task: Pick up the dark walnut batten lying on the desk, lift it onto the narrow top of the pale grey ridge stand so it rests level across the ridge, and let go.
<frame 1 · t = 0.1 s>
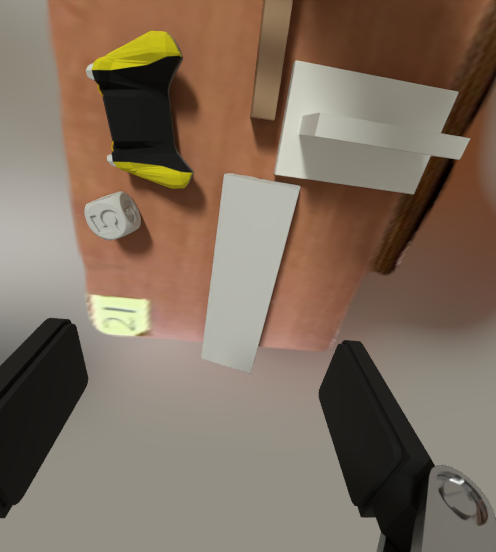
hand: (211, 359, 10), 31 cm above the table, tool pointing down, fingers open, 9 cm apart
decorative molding: (242, 280, 45), on the table
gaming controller: (153, 120, 33), on the table
ridge stand: (357, 135, 34), on the table
die: (121, 210, 38), on the table
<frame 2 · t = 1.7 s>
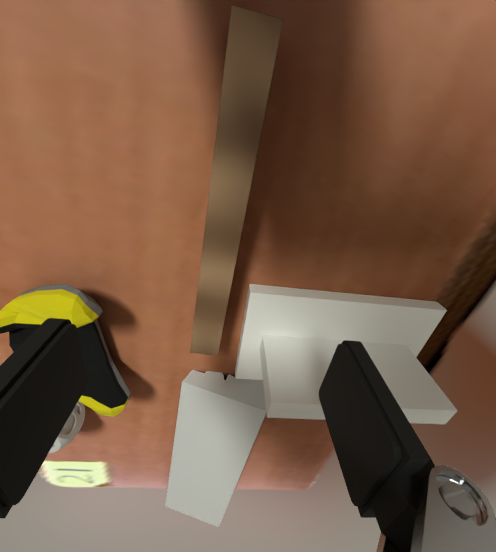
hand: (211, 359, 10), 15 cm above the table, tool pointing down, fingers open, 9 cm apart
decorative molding: (209, 442, 41), on the table
walnut batten: (224, 219, 22), on the table
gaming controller: (84, 330, 28), on the table
ridge stand: (329, 336, 29), on the table
die: (63, 399, 33), on the table
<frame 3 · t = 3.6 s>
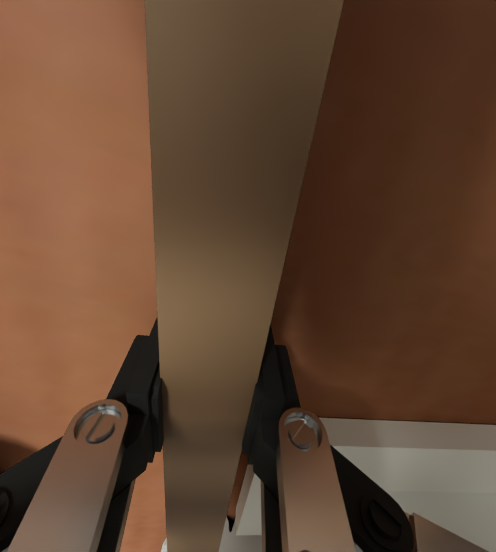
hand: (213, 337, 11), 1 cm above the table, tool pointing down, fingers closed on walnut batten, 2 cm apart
walnut batten: (214, 325, 11), on the table, touching gripper
ridge stand: (386, 472, 18), on the table
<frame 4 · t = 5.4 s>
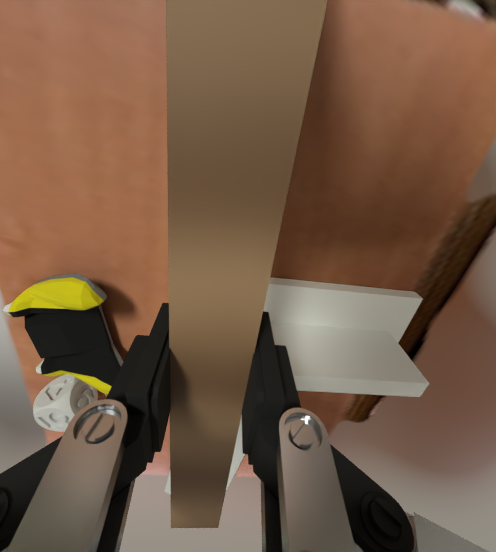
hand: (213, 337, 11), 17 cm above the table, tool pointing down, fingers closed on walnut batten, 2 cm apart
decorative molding: (213, 429, 44), on the table
walnut batten: (216, 312, 12), point 15 cm above the table, touching gripper
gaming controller: (89, 318, 31), on the table
ridge stand: (320, 324, 33), on the table
die: (78, 384, 36), on the table
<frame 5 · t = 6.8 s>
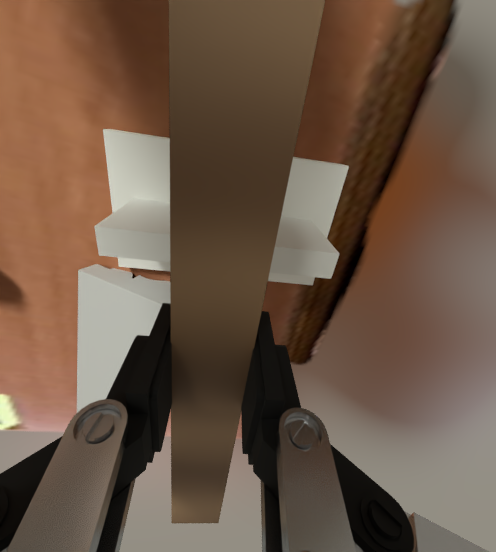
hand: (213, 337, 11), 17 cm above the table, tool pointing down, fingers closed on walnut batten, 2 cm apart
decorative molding: (127, 373, 37), on the table
walnut batten: (216, 309, 12), point 15 cm above the table, touching gripper
ridge stand: (225, 215, 25), on the table
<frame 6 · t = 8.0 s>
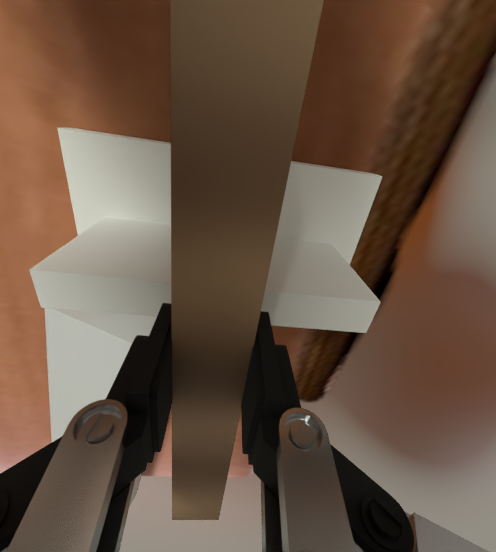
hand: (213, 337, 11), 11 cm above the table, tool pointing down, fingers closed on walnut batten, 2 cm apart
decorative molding: (111, 413, 32), on the table
walnut batten: (216, 307, 12), point 9 cm above the table, touching gripper, ridge stand
ridge stand: (223, 236, 20), on the table
when the fingers open (11 cm above the table, at t = 8.7 s): walnut batten stays where it is, resting on ridge stand.
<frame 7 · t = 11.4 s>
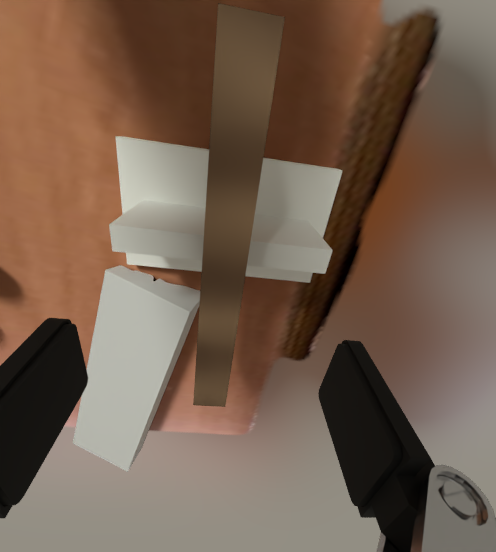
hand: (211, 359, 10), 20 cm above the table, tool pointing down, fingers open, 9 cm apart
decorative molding: (132, 370, 38), on the table
walnut batten: (225, 252, 19), point 9 cm above the table, touching ridge stand
ridge stand: (227, 216, 27), on the table
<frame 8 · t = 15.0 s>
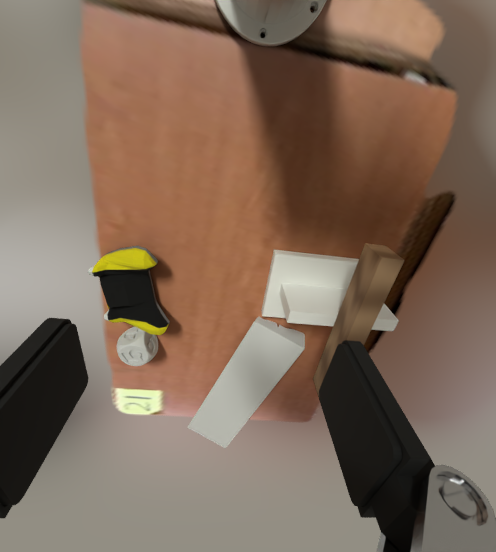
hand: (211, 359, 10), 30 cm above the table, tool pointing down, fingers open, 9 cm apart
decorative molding: (240, 378, 56), on the table
walnut batten: (343, 322, 37), point 9 cm above the table, touching ridge stand
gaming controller: (138, 281, 43), on the table
ridge stand: (324, 287, 45), on the table
die: (143, 334, 48), on the table
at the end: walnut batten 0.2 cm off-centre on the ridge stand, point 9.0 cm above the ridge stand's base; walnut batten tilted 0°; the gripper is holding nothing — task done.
